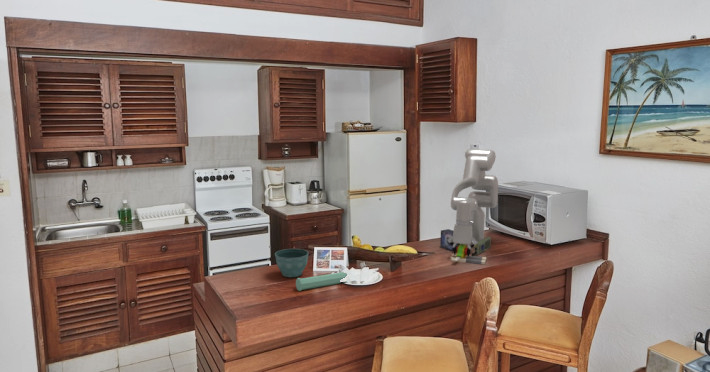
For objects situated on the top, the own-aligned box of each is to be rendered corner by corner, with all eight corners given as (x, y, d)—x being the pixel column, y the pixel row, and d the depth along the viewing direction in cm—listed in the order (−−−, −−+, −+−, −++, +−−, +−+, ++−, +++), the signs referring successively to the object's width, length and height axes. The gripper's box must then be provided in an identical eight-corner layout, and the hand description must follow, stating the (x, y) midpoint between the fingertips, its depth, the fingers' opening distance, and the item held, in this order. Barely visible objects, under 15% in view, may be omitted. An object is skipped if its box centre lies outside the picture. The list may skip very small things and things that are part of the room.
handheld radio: (491, 248, 297) (475, 257, 277) (486, 247, 299) (469, 256, 279) (491, 237, 296) (475, 245, 276) (486, 236, 298) (469, 245, 278)
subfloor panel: (452, 256, 277) (452, 253, 277) (486, 259, 272) (486, 257, 271) (450, 261, 269) (450, 258, 269) (485, 264, 263) (485, 261, 263)
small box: (439, 247, 297) (440, 230, 295) (447, 245, 300) (448, 228, 299) (452, 251, 288) (452, 233, 286) (460, 249, 291) (460, 232, 290)
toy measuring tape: (471, 254, 276) (472, 243, 275) (458, 263, 260) (459, 250, 259) (460, 252, 279) (461, 241, 278) (447, 261, 263) (447, 249, 262)
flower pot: (272, 279, 235) (272, 257, 234) (278, 269, 251) (277, 248, 250) (306, 280, 235) (306, 258, 233) (310, 269, 251) (310, 248, 249)
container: (345, 267, 235) (297, 275, 222) (351, 275, 231) (302, 283, 218) (342, 277, 238) (294, 285, 225) (348, 285, 234) (299, 294, 221)
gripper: (480, 222, 269) (478, 254, 272) (448, 220, 275) (446, 251, 277) (479, 225, 262) (477, 258, 265) (445, 222, 268) (444, 255, 270)
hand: (461, 254), depth 271 cm, fingers closed on toy measuring tape, 6 cm apart
